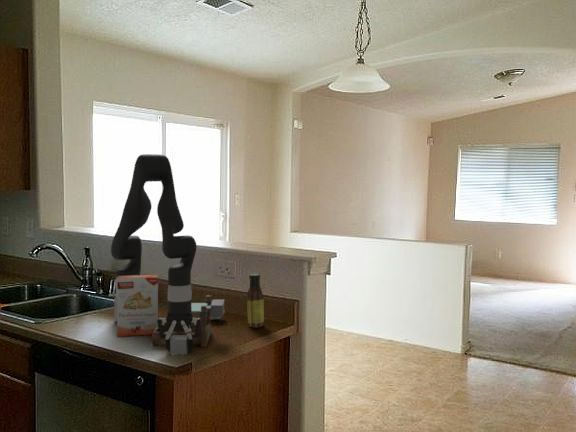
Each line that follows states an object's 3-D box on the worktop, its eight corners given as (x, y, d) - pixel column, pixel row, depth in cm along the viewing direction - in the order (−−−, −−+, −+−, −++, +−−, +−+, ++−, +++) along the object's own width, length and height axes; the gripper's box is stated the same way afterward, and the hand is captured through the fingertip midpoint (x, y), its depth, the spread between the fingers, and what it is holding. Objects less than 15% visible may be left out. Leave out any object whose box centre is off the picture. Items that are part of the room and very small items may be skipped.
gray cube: (170, 355, 166) (170, 339, 165) (172, 350, 171) (172, 335, 170) (186, 355, 166) (186, 339, 166) (188, 350, 171) (188, 335, 170)
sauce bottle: (266, 325, 202) (267, 273, 201) (259, 329, 196) (259, 276, 195) (251, 323, 205) (252, 272, 203) (243, 326, 199) (244, 275, 198)
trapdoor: (168, 318, 175) (168, 306, 175) (174, 309, 187) (174, 298, 187) (222, 318, 176) (222, 306, 176) (224, 309, 188) (224, 298, 188)
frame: (151, 347, 173) (151, 306, 172) (161, 332, 190) (161, 295, 190) (206, 347, 174) (206, 306, 173) (211, 332, 191) (211, 295, 191)
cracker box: (117, 337, 183) (116, 278, 182) (117, 332, 189) (117, 275, 188) (158, 334, 187) (158, 276, 186) (157, 330, 193) (157, 273, 192)
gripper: (154, 300, 163) (154, 354, 164) (200, 300, 164) (200, 353, 165) (158, 295, 170) (159, 346, 171) (203, 295, 171) (203, 346, 172)
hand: (179, 350), depth 168 cm, fingers open, 5 cm apart
